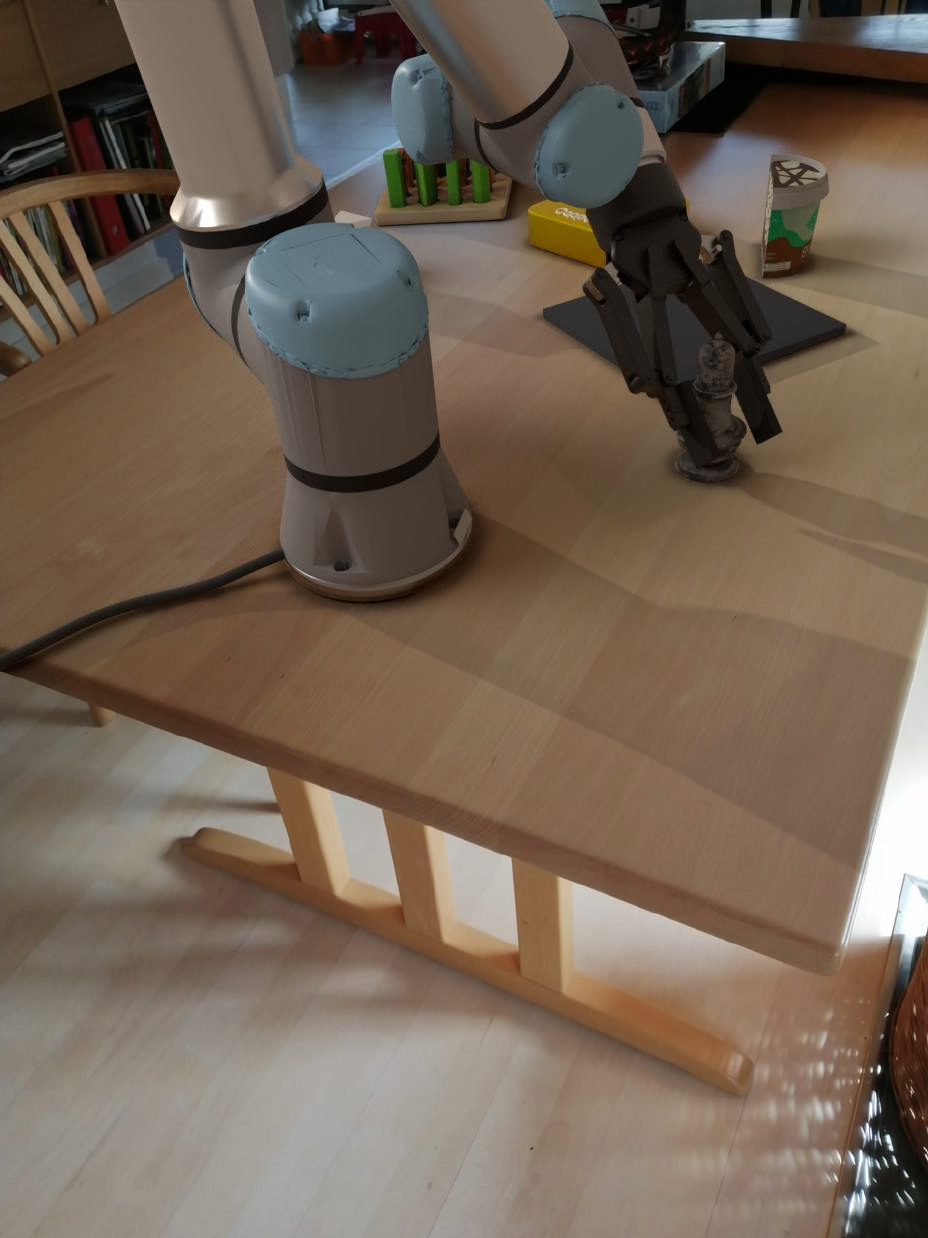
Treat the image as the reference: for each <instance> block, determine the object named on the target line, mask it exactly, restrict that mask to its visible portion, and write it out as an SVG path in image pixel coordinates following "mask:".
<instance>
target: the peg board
mask: <svg viewBox="0 0 928 1238" xmlns="http://www.w3.org/2000/svg"><path fill="white" fill-rule="evenodd" d="M382 159H383V160H382V161H383V166H384V172H385V179H386V187H385V189H384V191H383V194H382V195H381V198H380V200H379V201H378V204H377V206H376V208H375V210H374V220H375V221H374V222H375V223H376V225H377V226H391V225H414V224H433V223H435V224H436V223H451V222H452V223H453V222H471V221H472V222H473V221H492V220H493V221H494V220H503V219H505V218H506V216H507V211H508V205H509V202H510V201H509V200H510V195H511V189H512V185H513V181H514V180H513V179H511V178H509V177H507V176H505V175H503V174H501V173H498V172H496V171H493V170H491V169H489V168H487V167H485V166H483V165H481V164H479V163H477V162H475V161H473V160H471V159H469V158H460V159H457V160H454V161H452V162H451V163H450V164H446V163H438V164H432V165H421V164H418V163H416V162H415V161H414V160H412V159H411V157H410V156H409V155H408V154H407V152H406V151H405V149H404V147H396V148H390V149H385V150H383V153H382Z"/></svg>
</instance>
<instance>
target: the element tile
mask: <svg viewBox="0 0 928 1238" xmlns="http://www.w3.org/2000/svg"><path fill="white" fill-rule="evenodd" d="M684 197H685V199H686V207H687V216H688V219H689V220H690V203H691V201H690V199H689V198H688V197H687V196H685V195H684ZM585 211H586V209H581V208H576V207H573V206H570V205H568V204H565V203H562V202H552V201H550V200H548V199H544V200H542V201H540V202H537V203H535V204H532V205H531V206H529V207H528V209H527V223H528V226H527V227H528V228H527V229H528V242H529V244H530V245H531V246H532V247H534V248H537V249H540V250H544V251H547V252H550V253H553V254H556V255H558V256H562V257H566V258H568V259H572V260H574V261H578V262H580V263H584V264H586V265H589V266H592V267H596V268H603V267H605V266H606V264H605V263H606V254H605V251H603V250H602V249H601V248H600V247H599V245H598V243H597V240H596V238H595V236H594V233H593V231H592V229H591V226H590V224H589V222H588V219H587V217H586V214H585Z"/></svg>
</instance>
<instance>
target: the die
mask: <svg viewBox="0 0 928 1238" xmlns="http://www.w3.org/2000/svg"><path fill="white" fill-rule="evenodd" d="M334 219H335V222H336V223H352V224H353V225H354V226H355V228H362V227H364V226H369V227H372V228H376V229H378V230H381V229H380V227H379V225H377V224H376V221H374V219H373V218H371V217H367V216H364V215H360V214H356V213H352V212H349V211H345V210H341V209H340V211H339V212H338V213H337V214H336V215H335V216H334Z"/></svg>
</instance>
